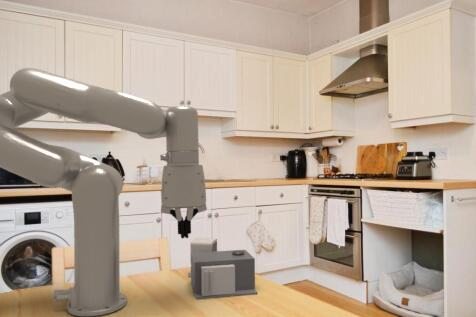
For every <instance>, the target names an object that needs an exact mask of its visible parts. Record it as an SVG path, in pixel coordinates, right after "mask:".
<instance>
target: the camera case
mask: <svg viewBox="0 0 476 317" xmlns="http://www.w3.org/2000/svg"><path fill="white" fill-rule="evenodd" d="M255 259H256V258H255V257H253V255H251V253H250V252H248V250H246V249H236V250H235V249H234V250H219V251H218V250H217V251H214V252H197V253H191V252H190V271H191V277H190V282H191V283H190V284H191V287H192V291H193V294H194V298H195V300H203V299H214V298H227V297H238V296H239V297H241V296H249V295H258V291H257V290H256V287H255V286H256V276H255V275H256V272H255V271H256V269H255V268H256V261H255ZM232 264H234V266H235V293H234V294H222V295H210V296H202V294H201V266H217V265H232Z"/></svg>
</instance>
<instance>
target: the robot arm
mask: <svg viewBox="0 0 476 317" xmlns="http://www.w3.org/2000/svg"><path fill="white" fill-rule="evenodd" d="M48 113H50V114H54V115H57V116H61V117H64V118H67V119H71V120H73V121H77V122H82V123H86V124H91V123H92V124H93V123H94V124H95V123H96V124H100V125H106V126H110V127H114V128H118V129H121V130H123V131H128V132H130V133H135V134H137V135H138V136H139V137H140V138H142V139H143V138H144V139H147V140H153V139H160V138H165V139H166V140H165V142H166V143H165V145H166V148H165V149H166V153H164V154H159V156H160V161H164V162H166V165H163V167H162V168H163V169H162V175H161V208H160V212H161V213H162V214H168V215H171V216H172V217H173V218H174V219H176V221H177V235H180V237H181V239H188V238H189V235H190V234H192V220H193V218H194V217H196V215H198V213H202V212H205V211H207V210H208V208H207V204H206V203H207V191H206V190H207V188H206V178H205V171H204V167H203V164H200V157H199V156H200V152H199V116H198V115H199V114H198V110H197V109H196V108H195V107H193V106H187V105H177V106H176V105H175V106H170V107H169V108H167V109H162V108H161V107H160V106H159V105H158V104H156V103H155V102H152V101H150V100H147V99H144V98H141V97H138V96H134V95H132V94H129V93H124V92H121V91H117V90H112V89H109V88H104V87H100V86H95V85H92V84H89V83H85V82H82V81H79V80H74V79H71V78H68V77H64V76H62V75H58V74H55V73H51V72H48V71H45V70H41V69H37V68H31V67H26V68H25V67H24V68H21V69H19V70H17V71H15V73H13V75H12V77H11V78H10V80H9V91H6V92H4V93H2V94H1V93H0V168H1V169H3V170H5V171H7V172H9V173H12V174H15V175H17V176H18V177H21V178H24V179H26V180H28V181H31V182H33V183H35V184H37V185H40V186H42V187H45V188H57V187H58V188H61V189H64V190H66V191H69V192H71V202H72V209H73V210H72V211H73V236H74V237H73V239H74V241H73V242H74V244H73V245H74V247H73V248H74V250H73V252H74V254H73V255H74V259H73V260H74V261H73V262H74V267H73V268H74V269H73V270H74V271H73V272H74V273H73V275H74V282H73V283H74V285H73V287H69V289H54V290H53V294H52V295H53V300H56V302H65V301H68V302H67V304H66V311H67V313H68V314H70V315H73V316H76V317H98V316H103V315H109V314H111V313H113V312H116V311H119V310H120V309H123V308H124V307H125V306H126V304H127V303H128V301H127V298H128V297H127V296H126V295H125V294H124V293H122V292H121V290H120V289H121V286H120V282H121V281H120V276H121V274H120V271H121V268H120V204H119V202H120V200H119V197H120V195H121V193H122V191H123V188H124V180H123V177H122V175H121V173H120V172H119V171H118V170H117V169H116V168H114V167H113V166H111V165H109V164H106V163H103V162H101V161H99V160H96V159H94V158H92V157H89V156H88V155H85V154H83V153H81V152H78V151H76V150H73V149H71V148H68V147H64V146H60V145H59V146H58V145H53V144H48V143H46V142H43V141H40V140H38V139H36V138H34V137H31V136H28V135H27V134H25V133H22V132H20V131H18V130H14V129H16V128H18V127H20V126H22V125H24V124H27V123H29V122H31V121H34V120H35V119H38V118H40V117H42V116H44V115H47V114H48ZM181 209H186V214H185V216H184V218H183V216H182V210H181Z"/></svg>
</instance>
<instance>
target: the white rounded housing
mask: <svg viewBox="0 0 476 317" xmlns="http://www.w3.org/2000/svg"><path fill="white" fill-rule="evenodd" d="M214 251H218V238H212V237H211V238H210V237H208V238H205V237H204V238H203V237H196V238H194V239H193V240H191V241H190V254H191V253H197V252H214ZM187 274H188V278H191V270H189V271H188V272H187Z"/></svg>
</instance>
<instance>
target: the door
mask: <svg viewBox="0 0 476 317" xmlns="http://www.w3.org/2000/svg"><path fill="white" fill-rule="evenodd" d="M234 293H235V266H234V264H232V265H217V266H201V294H202V296H210V295H222V294H234Z"/></svg>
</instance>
